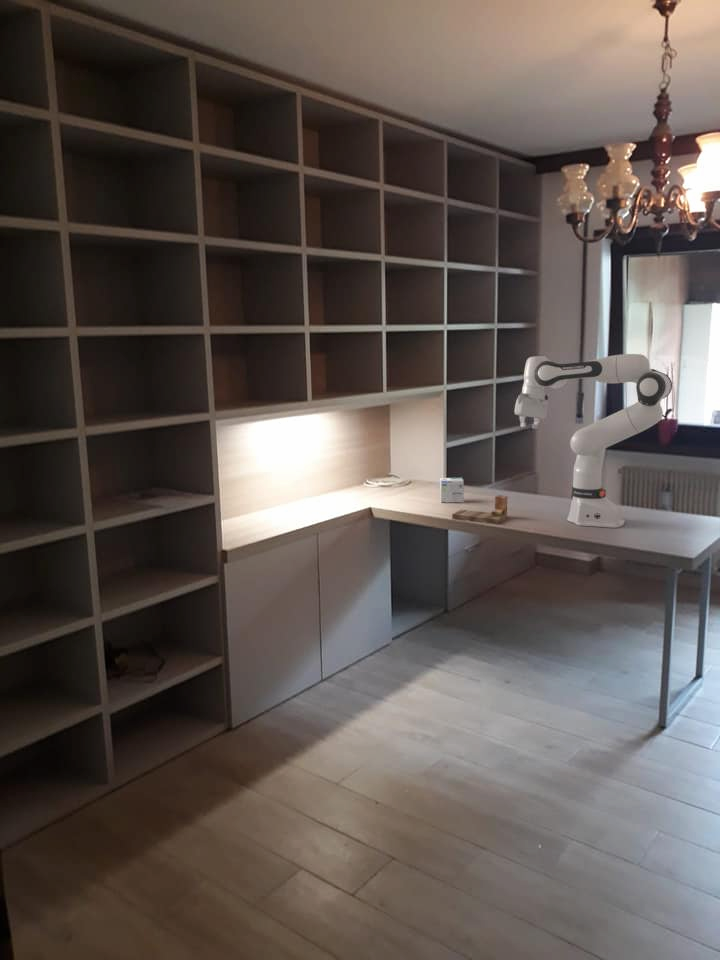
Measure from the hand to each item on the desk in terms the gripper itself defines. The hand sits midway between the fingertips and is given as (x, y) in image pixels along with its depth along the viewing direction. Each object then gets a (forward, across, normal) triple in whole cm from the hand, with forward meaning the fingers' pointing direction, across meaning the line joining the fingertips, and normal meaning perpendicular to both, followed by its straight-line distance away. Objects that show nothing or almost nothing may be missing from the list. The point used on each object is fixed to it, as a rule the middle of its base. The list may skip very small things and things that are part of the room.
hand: (528, 427), depth 326 cm
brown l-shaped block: (+39, -7, +6) cm, 40 cm away
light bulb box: (+37, +6, +40) cm, 55 cm away
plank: (+40, -13, +11) cm, 44 cm away
